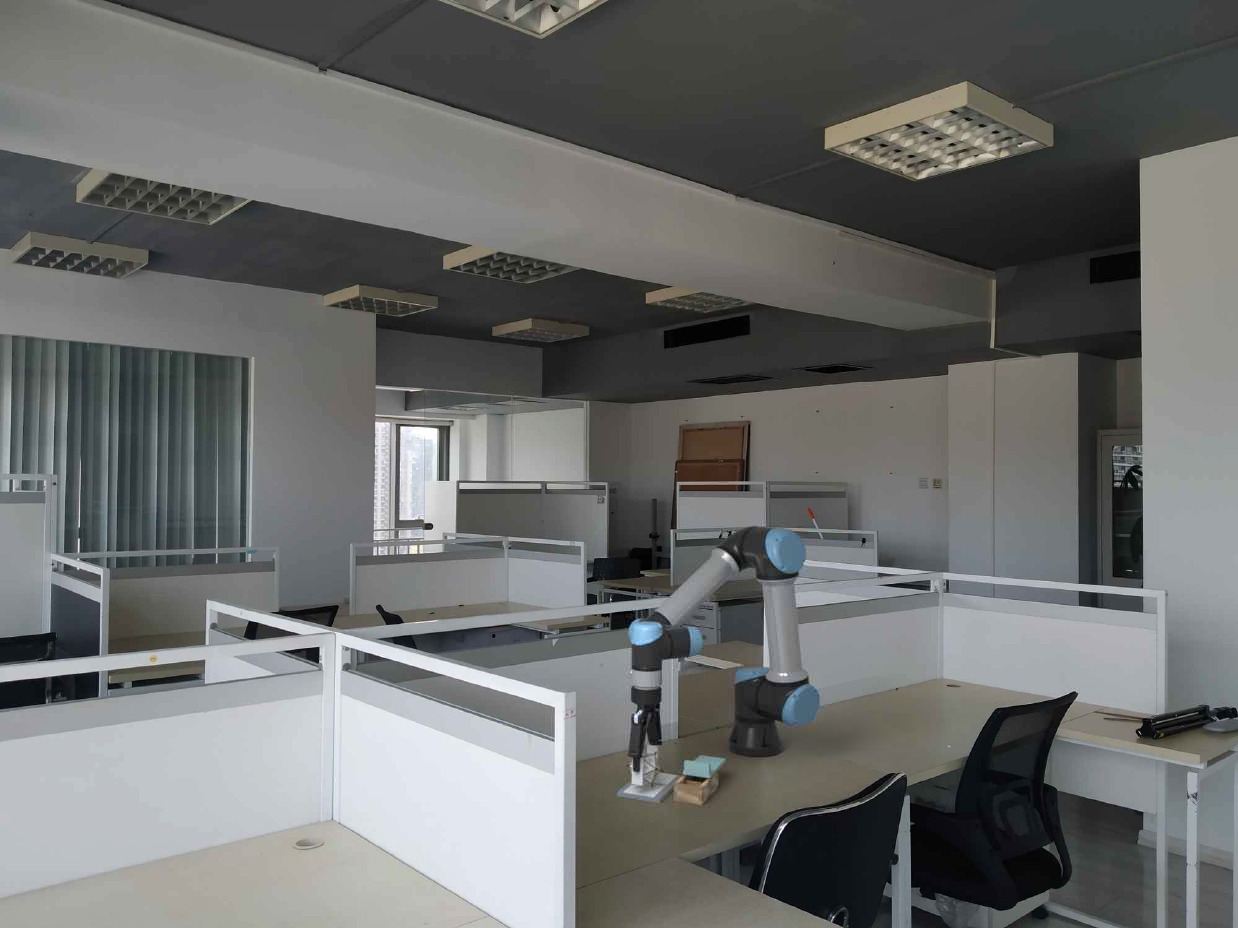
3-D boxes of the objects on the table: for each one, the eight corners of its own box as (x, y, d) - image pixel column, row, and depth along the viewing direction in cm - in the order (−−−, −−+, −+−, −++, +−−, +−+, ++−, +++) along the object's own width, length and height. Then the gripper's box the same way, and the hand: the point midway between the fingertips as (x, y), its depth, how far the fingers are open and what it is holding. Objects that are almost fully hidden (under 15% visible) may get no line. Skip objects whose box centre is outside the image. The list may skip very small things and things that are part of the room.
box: (691, 782, 228) (692, 766, 228) (718, 786, 225) (718, 770, 225) (673, 800, 215) (673, 783, 215) (701, 804, 212) (701, 787, 213)
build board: (643, 773, 234) (643, 769, 234) (683, 779, 230) (683, 775, 230) (617, 796, 218) (617, 791, 218) (659, 802, 213) (659, 797, 213)
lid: (699, 758, 234) (700, 745, 234) (725, 761, 232) (726, 749, 232) (682, 774, 221) (683, 761, 221) (710, 778, 219) (710, 764, 219)
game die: (645, 802, 218) (638, 777, 212) (623, 781, 224) (616, 756, 218) (672, 779, 221) (666, 754, 216) (650, 759, 227) (644, 734, 222)
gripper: (648, 675, 232) (646, 762, 231) (614, 694, 211) (613, 789, 211) (675, 678, 229) (674, 766, 228) (644, 697, 208) (643, 794, 208)
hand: (645, 777), depth 220 cm, fingers closed on game die, 9 cm apart
